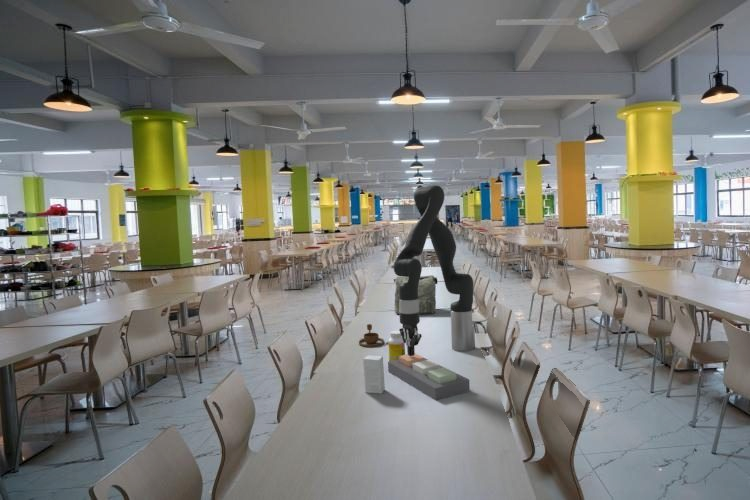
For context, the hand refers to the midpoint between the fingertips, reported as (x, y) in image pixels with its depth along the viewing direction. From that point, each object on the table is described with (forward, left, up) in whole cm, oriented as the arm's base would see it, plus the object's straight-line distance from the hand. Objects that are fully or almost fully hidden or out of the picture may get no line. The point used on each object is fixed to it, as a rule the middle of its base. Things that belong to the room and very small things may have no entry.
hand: (411, 355), depth 178 cm
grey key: (0, +10, -4) cm, 11 cm away
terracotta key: (0, 0, -4) cm, 4 cm away
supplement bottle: (-1, -13, -7) cm, 15 cm away
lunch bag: (-57, -88, -7) cm, 105 cm away
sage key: (0, +20, -4) cm, 20 cm away
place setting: (-8, -47, -8) cm, 48 cm away
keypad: (0, +10, -7) cm, 12 cm away
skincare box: (+20, +8, -7) cm, 23 cm away
